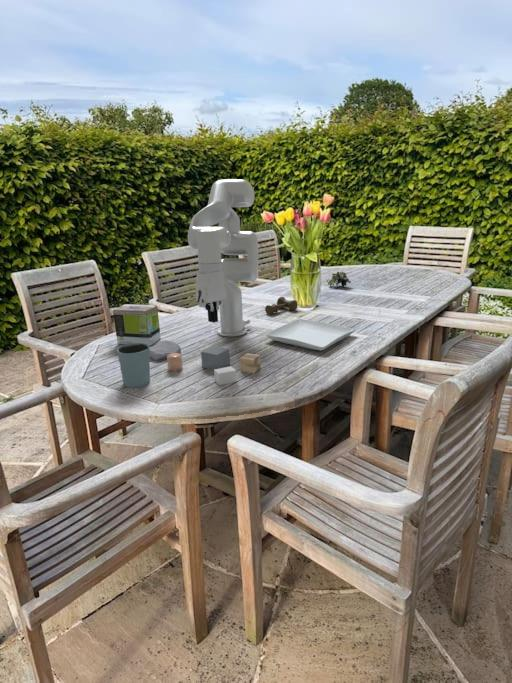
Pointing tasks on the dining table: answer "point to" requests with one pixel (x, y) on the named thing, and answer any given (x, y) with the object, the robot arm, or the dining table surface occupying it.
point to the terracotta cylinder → (174, 362)
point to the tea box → (137, 324)
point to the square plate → (309, 334)
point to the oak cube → (250, 363)
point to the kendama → (281, 305)
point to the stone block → (163, 350)
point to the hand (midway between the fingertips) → (213, 321)
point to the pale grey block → (225, 375)
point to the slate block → (215, 357)
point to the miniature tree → (339, 279)
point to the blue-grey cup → (134, 364)
